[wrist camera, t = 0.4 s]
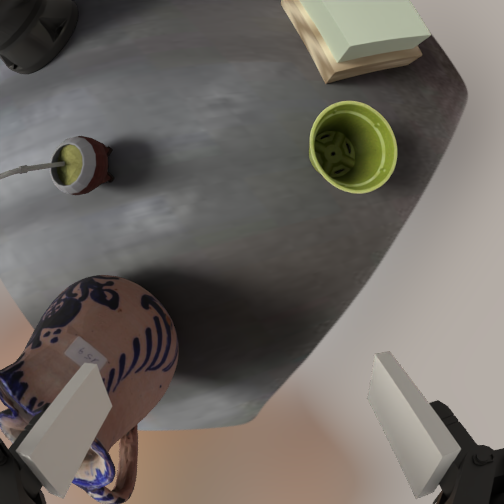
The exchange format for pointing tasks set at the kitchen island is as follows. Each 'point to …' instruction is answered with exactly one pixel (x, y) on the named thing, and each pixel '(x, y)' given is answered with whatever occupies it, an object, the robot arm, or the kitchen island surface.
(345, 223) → the kitchen island surface
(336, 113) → the plant pot
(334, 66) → the lower block
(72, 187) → the mate gourd
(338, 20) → the upper block
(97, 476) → the ceramic pitcher
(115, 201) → the kitchen island surface
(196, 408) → the kitchen island surface
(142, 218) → the kitchen island surface
